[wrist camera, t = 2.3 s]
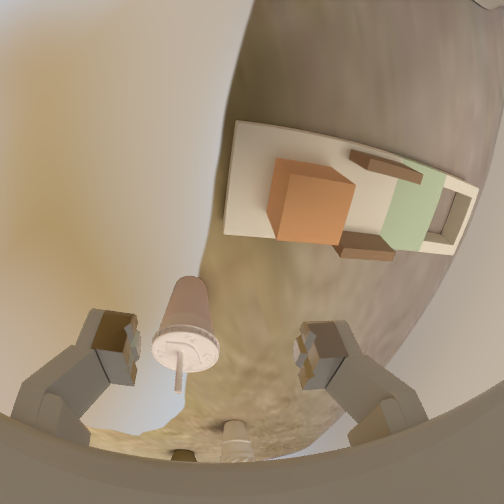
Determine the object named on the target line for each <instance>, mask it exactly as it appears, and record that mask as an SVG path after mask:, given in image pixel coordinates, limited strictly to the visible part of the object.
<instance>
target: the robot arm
mask: <svg viewBox="0 0 504 504" xmlns="http://www.w3.org/2000/svg"><path fill="white" fill-rule="evenodd" d="M474 1H475V2H476V3H478V4H479V5H481V6H482V7H484V8H486V9H490V10H491V9H495V8H497V7H500V6H504V0H474ZM137 324H138V321H137V317H136V315H135V314H130V313H122V312H116V311H108V310H101V309H94V308H93V309H91V310H90V312H89V314H88V316H87V318H86V320H85V323H84V325H83V328H82V330H81V332H80V335H79V337H78V340H77V342H76V345H75V346H74V345H71V346H69V347H68V348H67V349H65V350H64V351H63V352H61V353H60V354H59V355H57V356H56V357H55V358H53V359H52V360H51V361H49V362H48V363H47V364H45V365H44V366H43V367H42V368H40V369H39V370H38V371H36V372H35V373H34V374H33V375H31V376H30V377H29V378H27V379H26V380H25V381H24V382H23V383H22V385H21V388H20V390H19V393H18V396H17V398H16V401H15V404H14V407H13V410H12V413H11V417H8V416H6V415H4V414H2V413H0V504H504V380H503V381H501V382H500V383H498V384H496V385H495V386H493V387H492V388H490V389H488V390H487V391H485V392H483V393H482V394H480V395H478V396H477V397H475V398H473V399H471V400H469V401H468V402H466V403H464V404H462V405H460V406H458V407H456V408H454V409H452V410H450V411H448V412H446V413H444V414H442V415H439V416H437V417H435V418H433V419H431V420H429V419H428V417H427V415H426V412H425V410H424V408H423V406H422V404H421V402H420V400H419V398H418V396H417V394H416V392H415V390H414V389H412V388H411V387H409V386H408V385H407V384H405V383H404V382H403V381H401V380H400V379H399V378H397V377H396V376H394V375H393V374H392V373H390V372H389V371H388V370H386V369H385V368H384V367H382V366H381V365H380V364H378V363H377V362H376V361H374V360H373V359H372V358H370V357H369V356H367V355H363V354H362V352H361V350H360V347H359V345H358V343H357V341H356V339H355V337H354V335H353V333H352V331H351V329H350V327H349V325H348V323H347V322H346V321H345V320H338V321H309V322H303V323H302V325H301V327H300V333H301V335H300V336H299V337H297V338H296V340H295V343H294V350H293V354H294V360H295V364H296V365H297V366H298V367H299V368H300V369H301V370H300V372H299V374H298V376H299V379H300V383H301V387H302V390H313V389H325V388H326V389H325V390H326V391H327V392H328V393H329V394H330V395H331V396H332V397H333V398H334V399H335V400H336V401H337V403H338V404H339V405H340V406H341V407H342V408H343V409H344V410H345V411H346V412H347V413H348V414H349V415H350V416H351V417H352V418H353V419H354V420H355V421H356V422H357V423H358V424H357V425H356V426H355V427H354V428H353V429H352V430H351V431H350V432H349V433H348V438H349V442H350V445H351V447H347V448H342V449H338V450H334V451H329V452H324V453H319V454H313V455H307V456H301V457H294V458H286V459H278V460H267V461H254V462H231V463H208V462H185V461H172V460H162V459H154V458H146V457H139V456H133V455H127V454H122V453H117V452H112V451H108V450H103V449H99V448H95V447H91V446H89V442H90V436H91V433H90V431H89V430H88V429H87V428H86V426H85V425H84V424H83V423H82V422H81V421H80V420H79V419H80V418H81V417H82V415H83V414H84V413H85V412H86V411H87V410H88V409H89V407H90V406H91V405H92V404H93V403H94V402H95V401H96V400H97V398H98V397H99V396H100V395H101V394H102V393H103V392H104V391H105V390H106V389H107V387H108V386H109V385H110V383H112V384H119V385H126V386H134V384H135V379H136V373H137V368H136V364H135V362H136V361H137V360H139V357H140V352H141V336H140V332H139V331H138V330H137V329H136V328H137Z"/></svg>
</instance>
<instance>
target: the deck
mask: <svg viewBox="0 0 504 504" xmlns="http://www.w3.org/2000/svg"><path fill="white" fill-rule="evenodd" d="M276 158H282V159H288V160H295V161H301V162H307V163H313V164H318V165H324V166H329V167H332V168H333V169H335V170H336V171H338V172H339V173H340V174H342V175H343V176H345V177H346V178H347V179H349V180H350V181H351V182H353V183H354V184H355V185H356V188H355V191H354V195H353V199H352V202H351V205H350V209H349V212H348V216H347V219H346V222H345V225H344V229H343V232H342V235H341V238H340V241H339V244H338V245H332V246H333V247H334V249H335V250H336V252H337V253H338V255H339V256H340V258H353V259H367V260H382V261H392V260H393V258H394V256H395V253H396V252H395V251H394V250H393V249H398V250H408V251H417V252H427V253H436V254H445V255H453V254H454V252H455V250H456V248H457V246H458V243H459V241H460V239H461V237H462V234H463V232H464V229H465V227H466V224H467V222H468V219H469V217H470V214H471V211H472V209H473V206H474V203H475V200H476V197H477V194H478V191H479V188H477V187H475V186H474V185H472V184H470V183H468V182H467V181H465V180H463V179H460V178H458V177H456V176H453V175H451V174H449V173H446V172H444V171H441V170H439V169H436V168H434V167H431V166H428V165H426V164H423V163H420V162H417V161H415V160H412V159H409V158H406V157H403V156H400V155H397V154H394V153H391V152H388V151H384V150H381V149H378V148H374V147H371V146H367V145H364V144H360V143H356V142H353V141H349V140H345V139H341V138H337V137H332V136H328V135H324V134H319V133H314V132H309V131H304V130H299V129H294V128H288V127H282V126H276V125H270V124H263V123H256V122H249V121H240V120H236V122H235V129H234V136H233V143H232V151H231V158H230V166H229V174H228V182H227V191H226V199H225V208H224V217H223V230H224V234H225V235H239V236H252V237H265V238H276V237H275V234H274V232H273V229H272V226H271V224H270V221H269V218H268V216H267V213H266V211H267V205H268V200H269V194H270V189H271V183H272V178H273V172H274V166H275V161H276ZM443 187H445V188H448V189H451V190H453V191H456V192H457V193H456V196H455V199H454V201H453V204H452V207H451V210H450V213H449V215H448V218H447V220H446V223H445V226H444V228H443V231H442V233H441V234H436V233H430V232H427V230H428V228H429V225H430V223H431V220H432V218H433V215H434V212H435V209H436V207H437V204H438V201H439V198H440V195H441V192H442V189H443Z"/></svg>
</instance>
